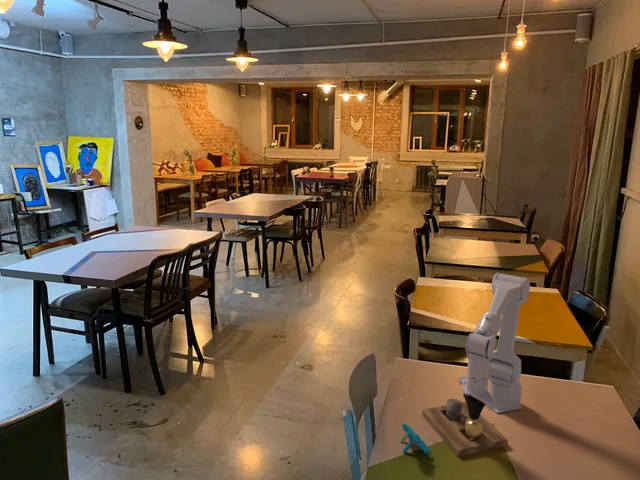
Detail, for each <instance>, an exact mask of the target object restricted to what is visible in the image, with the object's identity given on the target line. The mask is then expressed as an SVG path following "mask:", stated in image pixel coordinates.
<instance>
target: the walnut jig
mask: <svg viewBox="0 0 640 480" xmlns="http://www.w3.org/2000/svg"><path fill="white" fill-rule="evenodd" d="M421 411H422V412H421V415H422V417H423V418H424V420H425V421H426V422H427V423H428V424H429V425H430V427H432V428H433V430H434V431H435V432H436V433H437V435H438V436H439V437H440V438H441V439H442V440H443V441H444V443H445V444H446V445H447V447H449V448H450V450H451V451H452V452H453V453H454V454H455V455H456V456H457V457H458V458H459V457H462V456H463V457H464V456H466V455H472V454H477V453H481V452H485V451H490V450H494V449H495V450H496V449H499V448H504V447H508V441H509V440H508V438H507V437H506V436H505V435H504V434H502V433H501V431H499V430H498V429H497V427H495V426H494V425H493V424H492V423H490V422H489V420H488V419H487V418H485V417H484V416H483V415H482V413H481V414H480V416H479V419H480V420H481V421H482V423H483V425H482V436H481V440H478V441H474V442H469V441H468V440H467V439H466V438H465V428H466V419H467V418H470V416H469V411H468V406H467V403H466V401H463V402H462V401H461V400H460V399H456V398H449V399H447V401H446V405H440V406H436V407H429V408H424V409H422V410H421Z"/></svg>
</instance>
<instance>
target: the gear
mask: <svg viewBox="0 0 640 480" xmlns="http://www.w3.org/2000/svg"><path fill="white" fill-rule="evenodd" d="M401 427H402V430H403V431H404V434H405V435H404V436H403V437H402V438H401V439H400V442H401V443H403V442H404V441H405V440H406V439H407V440H408V441H409V442H408V444H406V445H405V447H403V448H402V452H403V453H404V454H406V452H408V450H409V449H410V448H412V446H415V445H417V447H418V448H419V450H421V451H422V450H423V452H424V454H426V455H430V454H431V451H430V447H429V446H427V444H426V442H425V441H424V440H422V438H421V437H420V435H419V434H418V433H416V432H415V431H414V429H412V427H411V425H408V424H406V423H402V424H401Z"/></svg>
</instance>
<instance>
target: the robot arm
mask: <svg viewBox="0 0 640 480" xmlns="http://www.w3.org/2000/svg"><path fill="white" fill-rule="evenodd" d="M530 283H531V282H530V280H529V278H528V277H520V276H515V275H510V274H505V273H500V272H496V273H495V274H494V275H493V277H492V280H491V291H492V295H493V296H492V299H491V303H490V306H489V309H488V311H487V312H486V311H485V312H484V313H482V315H481V317H480V318H479V321H478V323H477V325H476V328H475V329H474V331H473V332H472V333H469V334H468V336H467V338H466V342H465V352H466V359H467V371H466V375H464V376H458V384H459V385H461V386H462V387H463V388H464V389H462V393H463V394H462V396H463V398H464V401H465V402H466V403H467V406H468V411H469V416H470V418H471V419H472V420H477V419H479V416H480V414H481V415H482V411H483V410H484V408H485V407H486V409H487V410H488V411H490V410H491V411H492V410H493V412H495V413H496V414H500V413H505V412H506V413H507V412H510V411H515V410H519V409H520V410H521V409H522V406H521V400H522V399H521V398H522V384H521V382H520V378H521V374H522V360H521V358H520V357H519V356H518V355H517V354H516V353H515V352H514V351H515V350H514V349H515V342H516V337H517V329H518V322H519V318H520V317H519V315H520V310H521V306H522V304H524V303H527V302H528V300H529V295H530V289H531V284H530ZM498 334H499V336H498ZM497 336H498V337H499V338H498V341H497ZM497 342H498V343H497ZM496 343H497V348H496V349H495V346H496Z"/></svg>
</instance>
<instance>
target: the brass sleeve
mask: <svg viewBox="0 0 640 480" xmlns="http://www.w3.org/2000/svg"><path fill="white" fill-rule="evenodd" d="M482 425H483V423H482V421H481V420H480V419H477V420H472V419H471V418H467V419H466V428H465V434H464V437H465V438H466V439H467V440H468V441H469V442H474V441H478V440H482V439H481V436H482Z"/></svg>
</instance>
